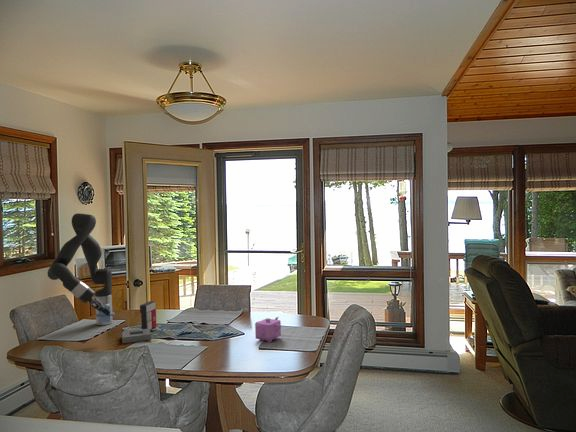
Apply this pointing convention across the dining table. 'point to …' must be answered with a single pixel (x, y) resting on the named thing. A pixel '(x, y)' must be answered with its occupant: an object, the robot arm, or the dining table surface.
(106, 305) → the servo
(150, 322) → the grey red upright box
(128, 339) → the chassis
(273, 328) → the teapot
